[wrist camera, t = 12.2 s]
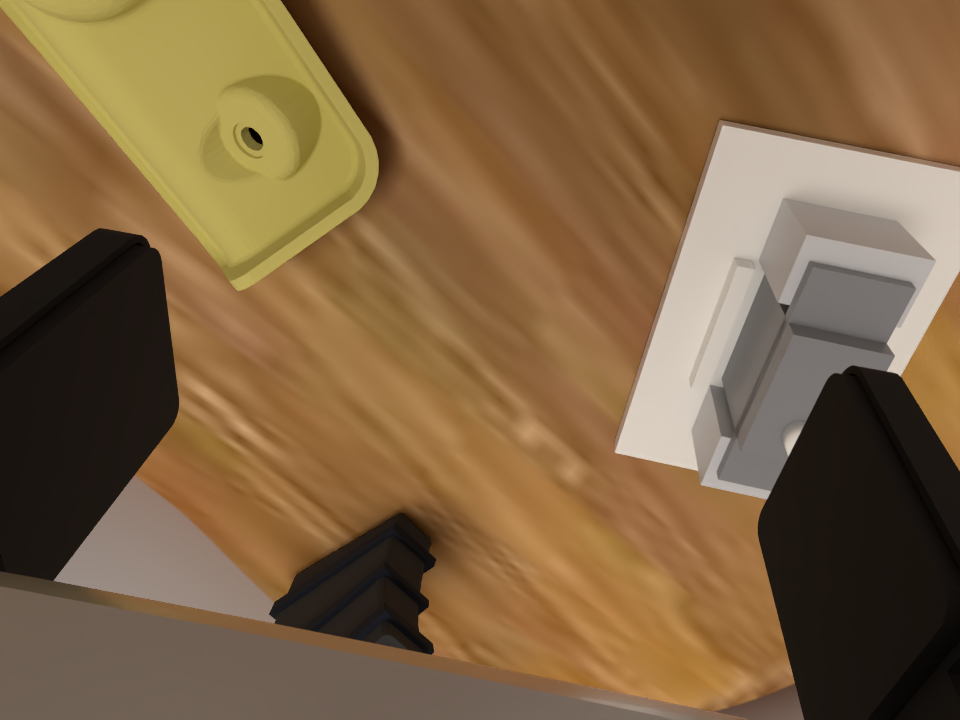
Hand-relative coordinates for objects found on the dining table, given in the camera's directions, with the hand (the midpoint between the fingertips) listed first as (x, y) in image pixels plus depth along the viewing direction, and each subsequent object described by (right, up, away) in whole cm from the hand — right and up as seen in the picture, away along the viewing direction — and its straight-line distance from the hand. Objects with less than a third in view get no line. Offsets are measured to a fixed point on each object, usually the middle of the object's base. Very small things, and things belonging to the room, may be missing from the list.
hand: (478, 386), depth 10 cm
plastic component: (-13, +15, +23) cm, 30 cm away
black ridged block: (-7, -12, +38) cm, 41 cm away
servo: (+15, +1, +25) cm, 29 cm away
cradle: (+15, +2, +26) cm, 30 cm away
